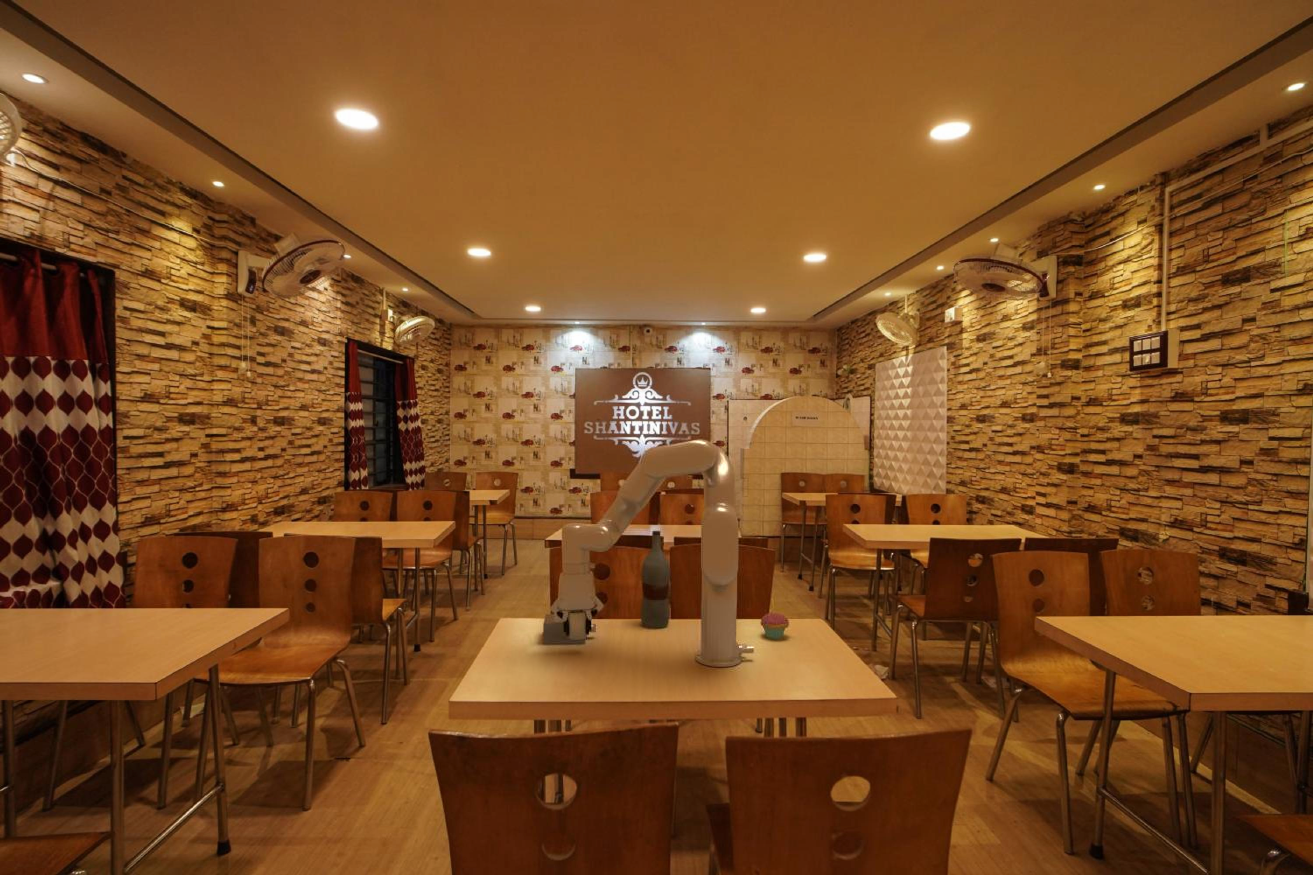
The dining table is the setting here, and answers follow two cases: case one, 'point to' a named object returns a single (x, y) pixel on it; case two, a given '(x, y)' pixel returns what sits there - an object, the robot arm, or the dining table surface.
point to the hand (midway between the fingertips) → (577, 633)
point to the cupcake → (774, 624)
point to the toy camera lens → (577, 624)
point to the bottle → (655, 587)
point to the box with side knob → (558, 631)
